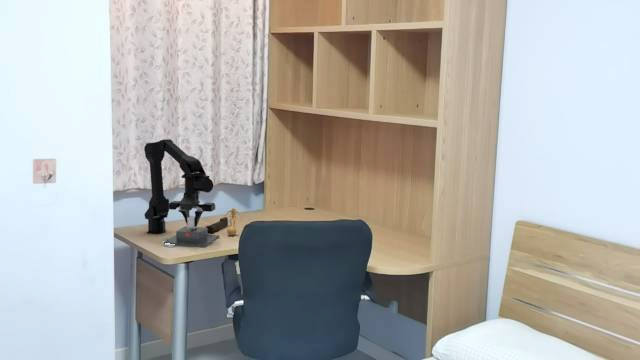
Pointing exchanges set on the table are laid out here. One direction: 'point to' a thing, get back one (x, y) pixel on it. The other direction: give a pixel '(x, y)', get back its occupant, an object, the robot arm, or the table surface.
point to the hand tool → (217, 225)
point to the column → (191, 223)
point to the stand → (192, 237)
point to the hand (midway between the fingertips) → (192, 226)
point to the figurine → (231, 230)
